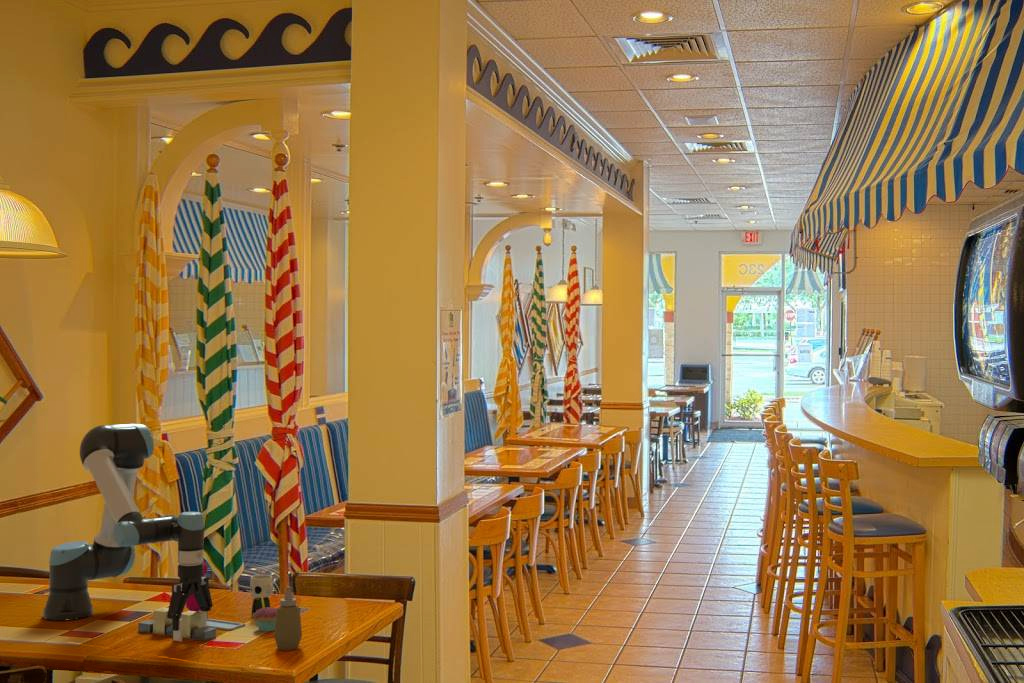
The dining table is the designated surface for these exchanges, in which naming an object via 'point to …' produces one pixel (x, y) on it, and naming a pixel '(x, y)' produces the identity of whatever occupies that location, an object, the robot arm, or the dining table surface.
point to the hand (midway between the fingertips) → (190, 636)
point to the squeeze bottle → (288, 623)
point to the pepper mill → (191, 601)
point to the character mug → (261, 591)
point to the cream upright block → (161, 621)
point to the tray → (223, 624)
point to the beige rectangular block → (190, 623)
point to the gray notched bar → (198, 634)
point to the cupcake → (265, 617)
